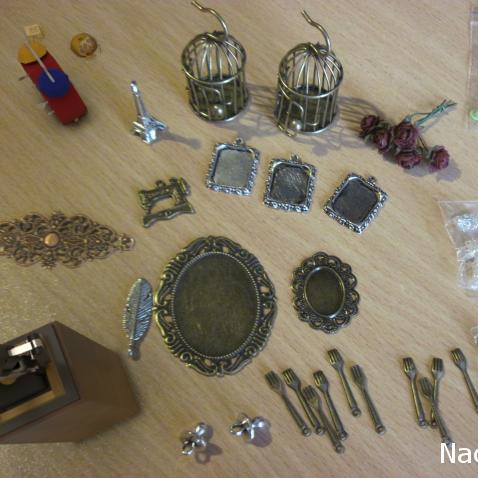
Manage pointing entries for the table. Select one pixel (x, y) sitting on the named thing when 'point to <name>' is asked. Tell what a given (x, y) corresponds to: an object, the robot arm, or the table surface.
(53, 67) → the red and blue toy
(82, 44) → the fruit
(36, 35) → the alphabet block
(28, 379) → the dark brown block
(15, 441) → the stand
